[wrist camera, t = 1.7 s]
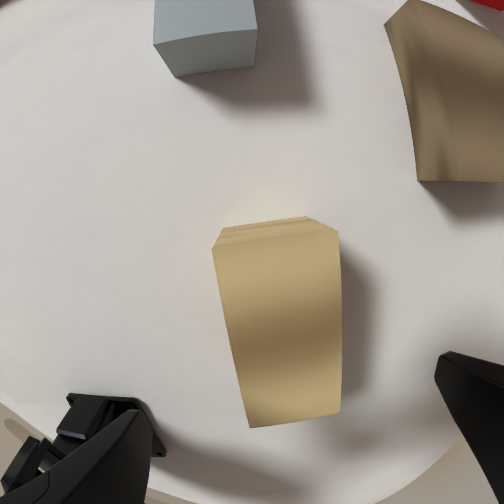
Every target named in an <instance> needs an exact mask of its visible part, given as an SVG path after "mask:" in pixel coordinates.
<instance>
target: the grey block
mask: <svg viewBox="0 0 504 504" xmlns="http://www.w3.org/2000/svg"><path fill="white" fill-rule="evenodd" d="M257 30H258V28H257V22H256V16H255V10H254V4H253V0H155V10H154V32H153V45H154V47H155V48H156V50H157V51H158V53H159V54H160V56H161V57H162V59H163V60H164V62H165V63H166V65H167V66H168V68H169V70H170V71H171V73H172V74H173V76H174V77H175V78H176V77H181V76H186V75H192V74H198V73H204V72H211V71H219V70H227V69H237V68H248V67H254V64H255V52H256V41H257Z"/></svg>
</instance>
